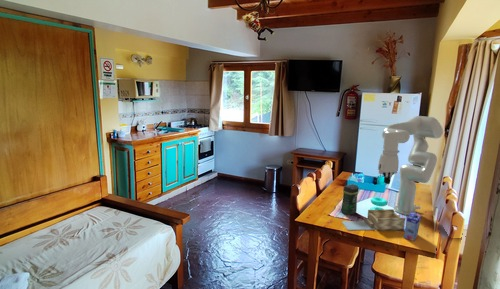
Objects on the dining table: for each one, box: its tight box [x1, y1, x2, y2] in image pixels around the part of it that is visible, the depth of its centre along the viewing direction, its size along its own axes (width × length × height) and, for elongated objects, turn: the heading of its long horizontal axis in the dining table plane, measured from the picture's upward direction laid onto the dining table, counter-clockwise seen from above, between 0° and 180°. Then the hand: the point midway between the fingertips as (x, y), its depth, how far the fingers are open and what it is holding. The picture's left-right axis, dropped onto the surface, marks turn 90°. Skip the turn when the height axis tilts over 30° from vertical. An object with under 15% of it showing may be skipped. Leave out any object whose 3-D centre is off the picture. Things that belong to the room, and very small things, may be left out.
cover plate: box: [341, 217, 376, 231], centre depth 175 cm, size 16×10×4 cm, turn 93°
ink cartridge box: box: [403, 212, 422, 242], centre depth 163 cm, size 10×6×14 cm, turn 140°
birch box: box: [366, 208, 406, 232], centre depth 175 cm, size 16×12×8 cm
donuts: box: [369, 196, 389, 210], centre depth 191 cm, size 10×10×10 cm
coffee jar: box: [340, 183, 360, 216], centre depth 191 cm, size 10×8×19 cm
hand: (386, 183), depth 173 cm, fingers closed
